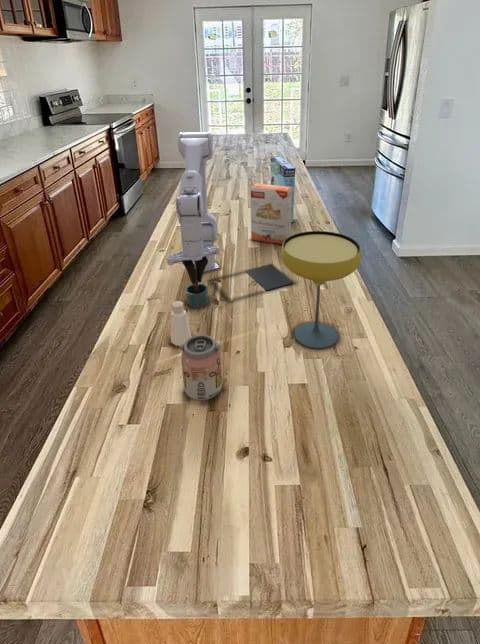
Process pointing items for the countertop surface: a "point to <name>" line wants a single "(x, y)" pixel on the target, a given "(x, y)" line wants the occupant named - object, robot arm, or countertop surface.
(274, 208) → the cracker box
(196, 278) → the stirring stick
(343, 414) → the countertop surface
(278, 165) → the blue upright flat box
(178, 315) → the pepper shaker
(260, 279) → the mat
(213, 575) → the countertop surface
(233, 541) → the countertop surface
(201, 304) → the espresso cup
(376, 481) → the countertop surface
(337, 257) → the cocktail glass
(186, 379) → the beverage can
